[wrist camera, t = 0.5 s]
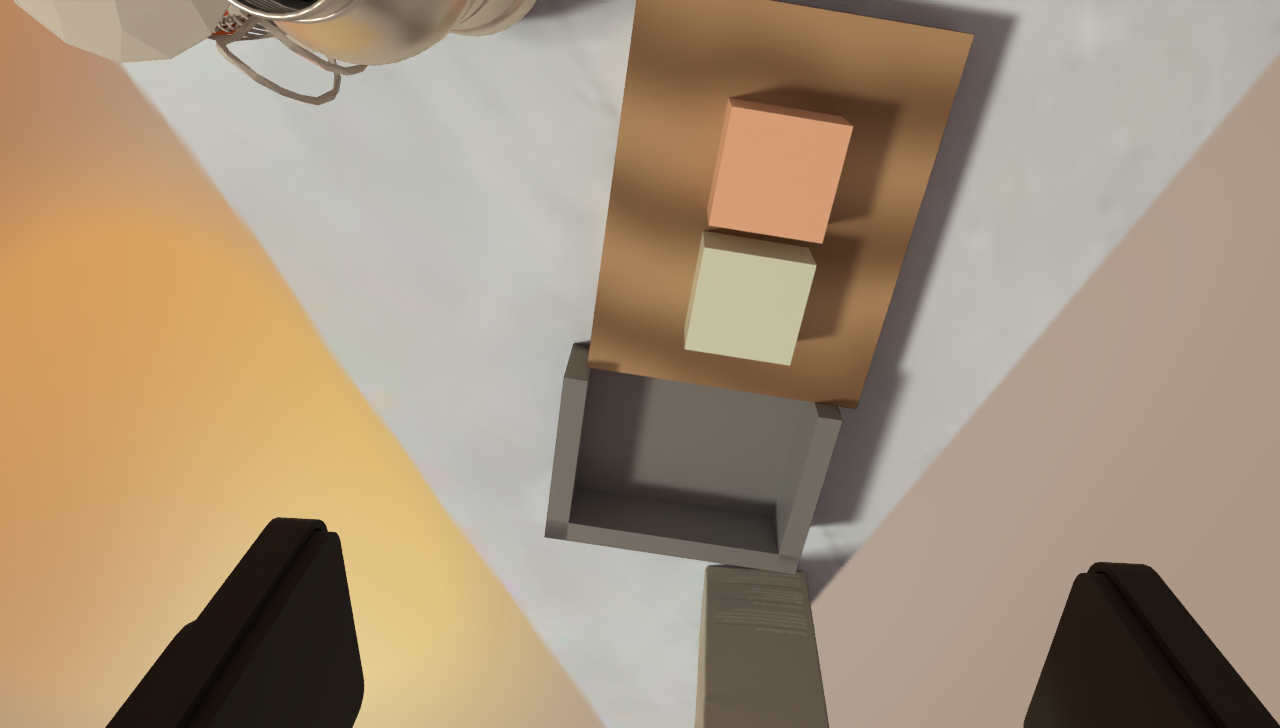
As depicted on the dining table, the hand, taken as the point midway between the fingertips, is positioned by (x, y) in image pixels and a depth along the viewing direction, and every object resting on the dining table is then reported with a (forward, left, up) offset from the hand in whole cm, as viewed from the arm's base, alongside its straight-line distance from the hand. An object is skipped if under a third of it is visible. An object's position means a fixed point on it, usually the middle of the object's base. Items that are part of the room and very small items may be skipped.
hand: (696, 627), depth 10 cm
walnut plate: (+2, +4, -31) cm, 31 cm away
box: (+16, +3, -31) cm, 35 cm away
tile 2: (-1, +4, -28) cm, 28 cm away
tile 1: (+5, +4, -28) cm, 29 cm away
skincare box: (+28, +9, -31) cm, 43 cm away
